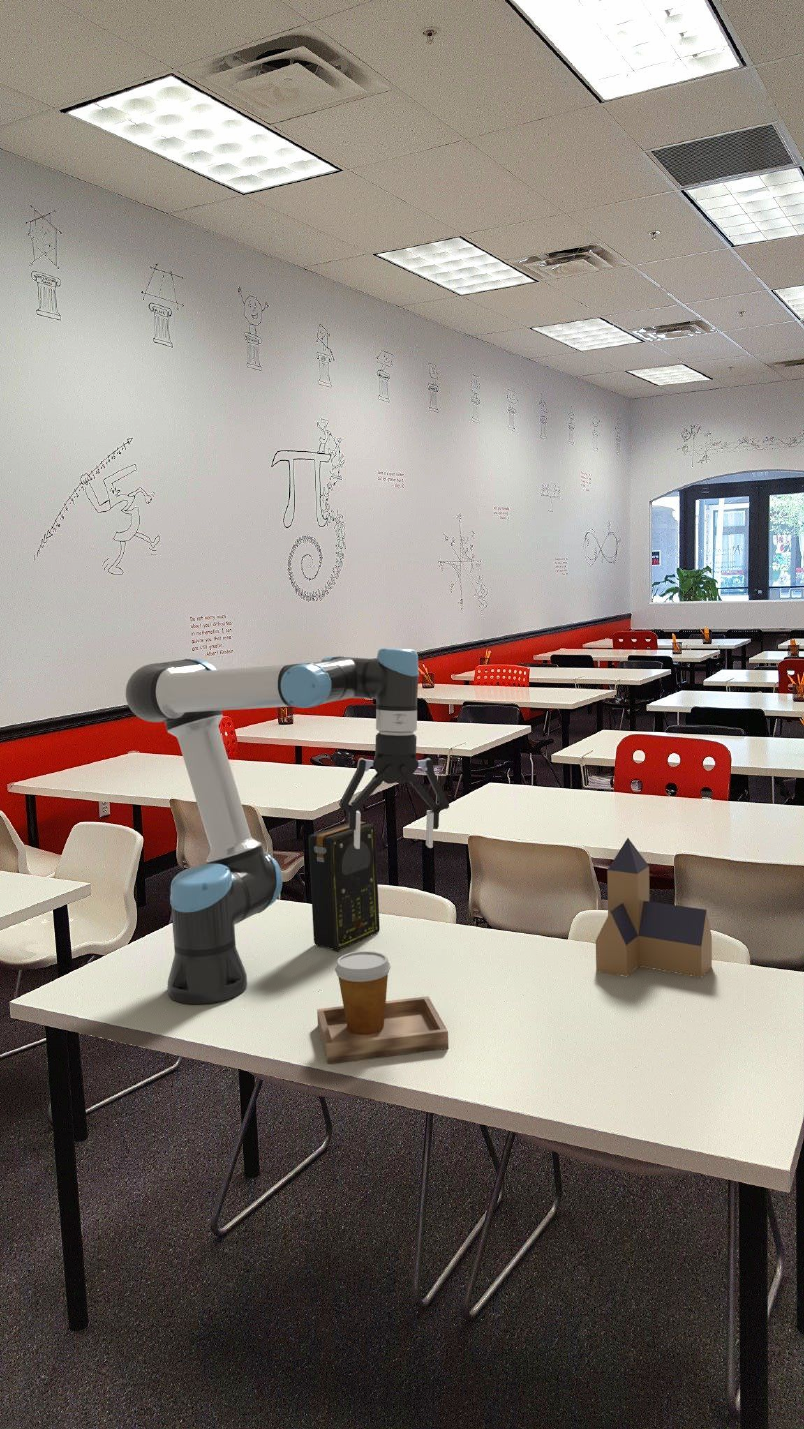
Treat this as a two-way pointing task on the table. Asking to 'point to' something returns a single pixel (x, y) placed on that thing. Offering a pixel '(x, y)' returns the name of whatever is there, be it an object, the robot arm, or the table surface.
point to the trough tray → (384, 1032)
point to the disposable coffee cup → (363, 990)
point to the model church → (648, 925)
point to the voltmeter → (343, 886)
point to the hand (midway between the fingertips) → (393, 846)
